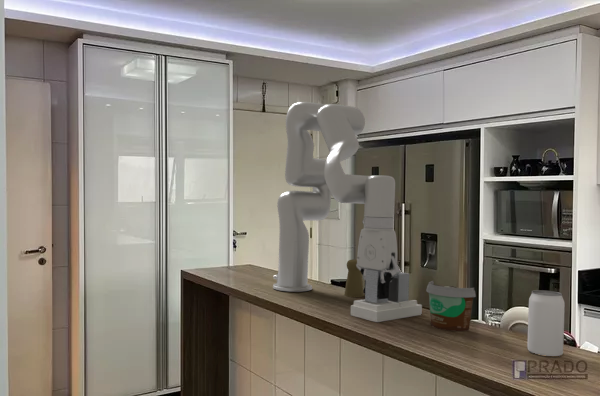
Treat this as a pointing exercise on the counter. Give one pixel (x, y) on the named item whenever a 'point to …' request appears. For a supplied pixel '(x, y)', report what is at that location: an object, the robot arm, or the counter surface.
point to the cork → (354, 280)
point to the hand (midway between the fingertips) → (376, 296)
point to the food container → (450, 307)
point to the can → (546, 323)
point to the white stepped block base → (389, 303)
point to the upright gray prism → (373, 286)
